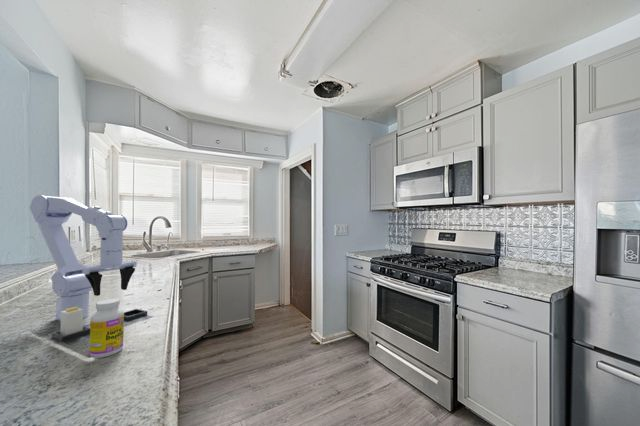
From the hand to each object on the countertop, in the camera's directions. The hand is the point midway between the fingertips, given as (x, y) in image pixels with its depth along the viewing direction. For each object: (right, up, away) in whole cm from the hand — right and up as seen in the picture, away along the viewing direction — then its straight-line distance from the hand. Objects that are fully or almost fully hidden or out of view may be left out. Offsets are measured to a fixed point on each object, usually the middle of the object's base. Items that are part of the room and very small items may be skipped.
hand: (111, 292), depth 85 cm
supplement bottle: (+15, -9, -20) cm, 27 cm away
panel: (+1, -10, -4) cm, 11 cm away
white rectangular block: (-2, -9, -12) cm, 15 cm away
